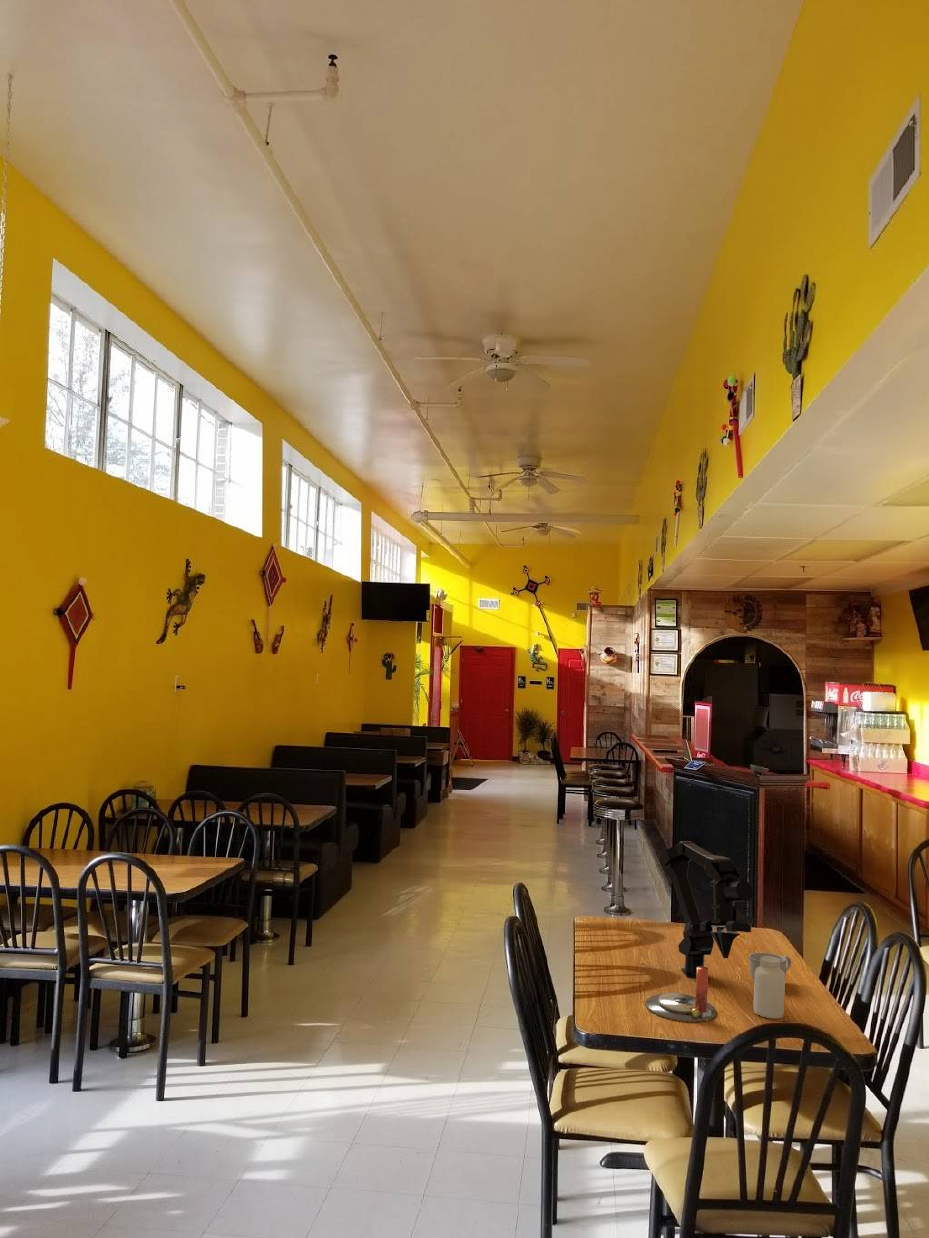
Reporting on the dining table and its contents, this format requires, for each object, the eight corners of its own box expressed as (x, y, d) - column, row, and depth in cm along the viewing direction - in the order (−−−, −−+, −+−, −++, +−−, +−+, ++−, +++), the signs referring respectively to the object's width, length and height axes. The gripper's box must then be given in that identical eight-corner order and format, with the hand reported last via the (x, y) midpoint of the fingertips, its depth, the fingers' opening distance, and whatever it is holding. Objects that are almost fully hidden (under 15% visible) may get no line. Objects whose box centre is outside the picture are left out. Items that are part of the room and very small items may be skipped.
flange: (649, 1002, 250) (650, 957, 251) (678, 994, 257) (679, 951, 258) (691, 1020, 238) (693, 973, 238) (721, 1012, 245) (722, 966, 245)
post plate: (637, 995, 257) (638, 984, 258) (703, 996, 258) (703, 985, 259) (655, 1021, 238) (656, 1009, 239) (726, 1023, 240) (726, 1011, 240)
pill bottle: (772, 1021, 242) (774, 965, 243) (747, 1011, 249) (748, 956, 249) (789, 1016, 247) (791, 960, 248) (764, 1006, 253) (766, 952, 254)
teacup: (759, 989, 267) (760, 962, 267) (741, 977, 277) (742, 950, 278) (802, 988, 269) (803, 961, 270) (782, 976, 280) (783, 950, 280)
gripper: (766, 903, 259) (769, 961, 254) (730, 904, 276) (732, 958, 271) (732, 900, 257) (734, 958, 251) (698, 901, 274) (699, 956, 268)
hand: (725, 958), depth 261 cm, fingers closed
